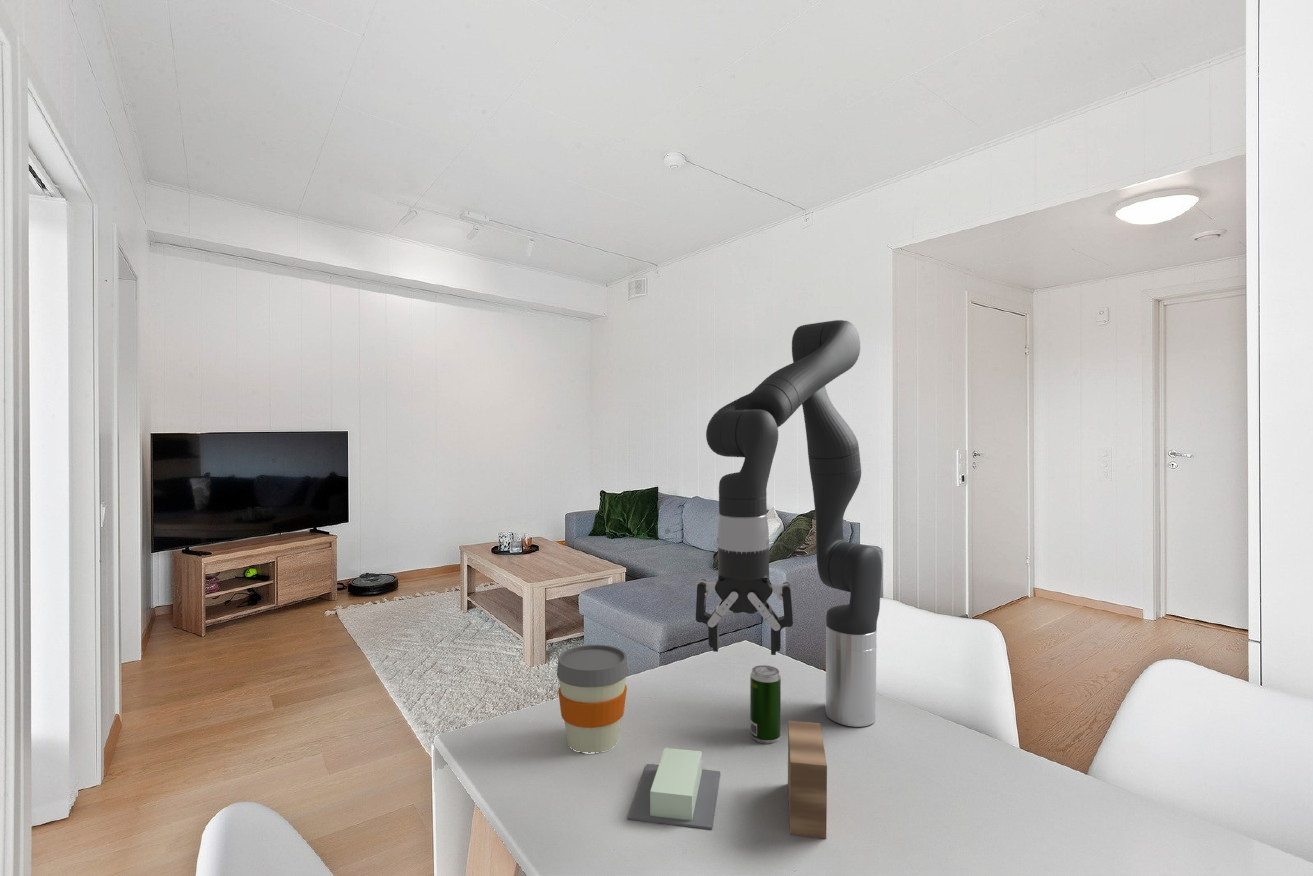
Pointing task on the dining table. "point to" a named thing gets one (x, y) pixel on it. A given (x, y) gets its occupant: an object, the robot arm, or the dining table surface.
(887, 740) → the dining table surface
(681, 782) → the pale green block
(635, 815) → the mat
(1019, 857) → the dining table surface
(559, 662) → the reusable coffee cup
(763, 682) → the beer can
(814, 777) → the box
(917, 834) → the dining table surface
